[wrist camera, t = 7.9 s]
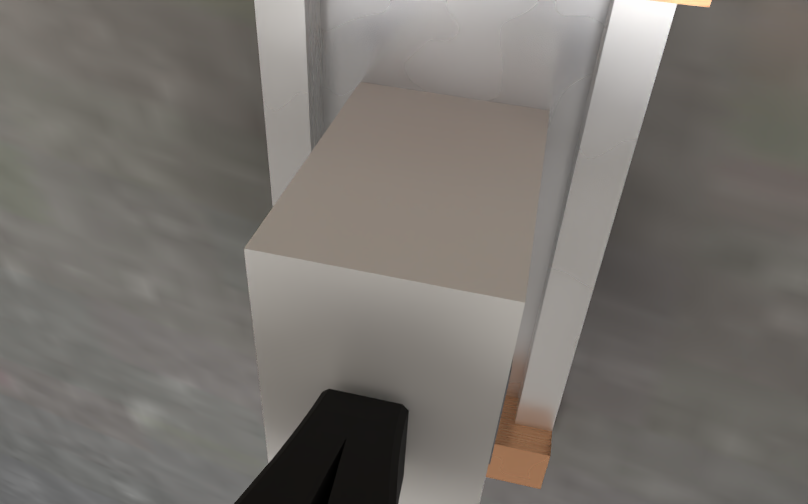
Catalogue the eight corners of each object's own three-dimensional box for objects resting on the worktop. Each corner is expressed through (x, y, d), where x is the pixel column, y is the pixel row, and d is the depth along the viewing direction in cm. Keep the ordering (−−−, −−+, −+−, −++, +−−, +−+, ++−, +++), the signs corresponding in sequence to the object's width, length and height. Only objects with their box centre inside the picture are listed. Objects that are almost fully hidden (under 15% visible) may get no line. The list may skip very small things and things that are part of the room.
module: (507, 323, 17) (473, 538, 13) (354, 293, 18) (269, 488, 13) (552, 111, 14) (529, 302, 9) (357, 81, 14) (240, 247, 10)
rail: (544, 430, 20) (534, 565, 17) (304, 379, 21) (250, 496, 18) (710, -158, 11) (761, -115, 7) (266, -193, 12) (139, -169, 8)
